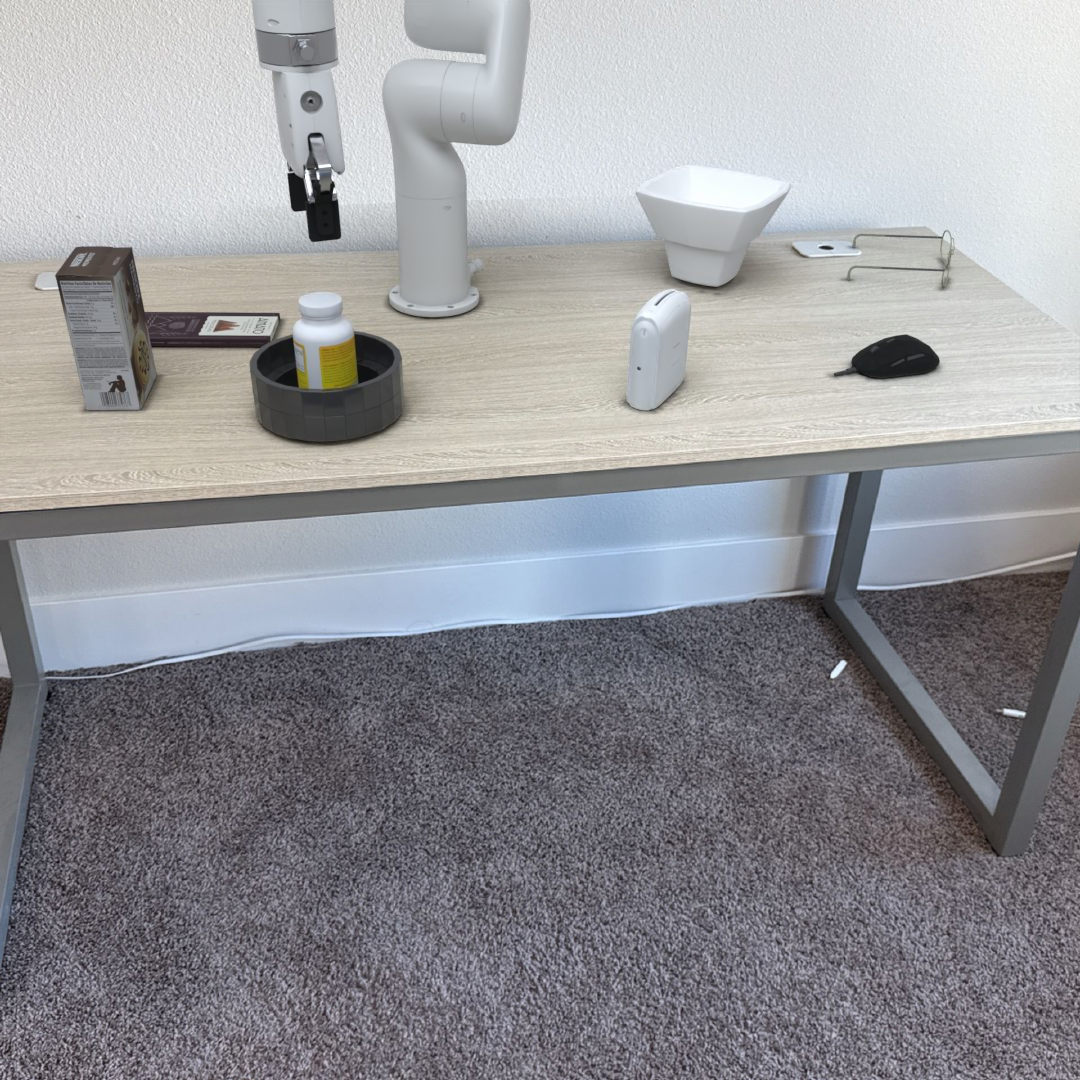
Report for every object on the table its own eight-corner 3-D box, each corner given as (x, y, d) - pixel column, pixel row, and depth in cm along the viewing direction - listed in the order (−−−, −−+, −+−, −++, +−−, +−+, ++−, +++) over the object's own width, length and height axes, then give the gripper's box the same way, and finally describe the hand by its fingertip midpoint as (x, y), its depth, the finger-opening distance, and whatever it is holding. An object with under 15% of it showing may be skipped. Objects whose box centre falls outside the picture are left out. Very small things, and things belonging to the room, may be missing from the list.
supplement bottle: (370, 399, 126) (362, 293, 119) (343, 424, 121) (333, 314, 114) (318, 389, 128) (308, 284, 121) (289, 413, 123) (277, 305, 116)
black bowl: (323, 368, 134) (318, 318, 131) (432, 402, 127) (430, 350, 124) (225, 420, 122) (217, 367, 119) (340, 461, 115) (335, 405, 112)
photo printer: (654, 415, 126) (663, 313, 119) (620, 406, 128) (628, 305, 121) (688, 382, 133) (699, 285, 127) (656, 374, 135) (665, 278, 128)
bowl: (787, 274, 166) (801, 181, 158) (735, 313, 152) (748, 214, 144) (677, 250, 174) (685, 160, 166) (618, 285, 160) (624, 190, 153)
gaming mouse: (820, 365, 138) (825, 336, 136) (917, 351, 143) (924, 322, 141) (848, 386, 134) (854, 356, 131) (948, 371, 138) (955, 341, 136)
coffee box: (103, 377, 131) (75, 245, 122) (158, 376, 131) (134, 244, 122) (83, 411, 123) (51, 273, 114) (142, 410, 124) (115, 273, 115)
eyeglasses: (949, 292, 161) (957, 259, 158) (846, 280, 164) (852, 247, 162) (947, 257, 174) (954, 226, 171) (851, 247, 177) (857, 216, 175)
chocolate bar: (142, 311, 145) (279, 312, 146) (144, 318, 145) (280, 319, 146) (124, 339, 137) (268, 339, 138) (125, 345, 138) (269, 346, 139)
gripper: (357, 64, 99) (370, 248, 108) (318, 29, 112) (333, 196, 122) (273, 69, 96) (295, 256, 106) (244, 33, 110) (265, 202, 119)
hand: (315, 224), depth 114 cm, fingers open, 9 cm apart
